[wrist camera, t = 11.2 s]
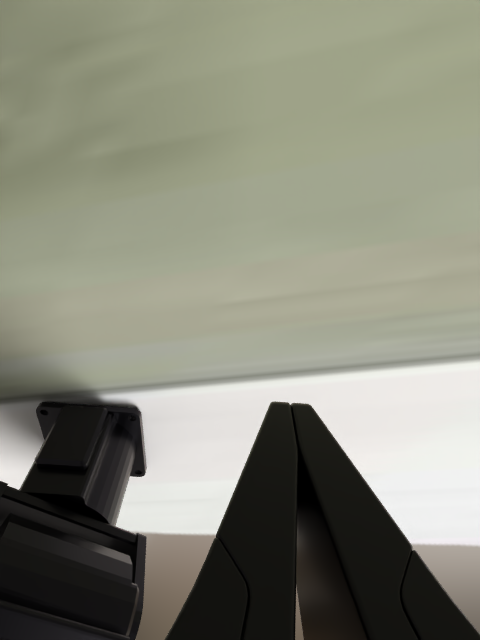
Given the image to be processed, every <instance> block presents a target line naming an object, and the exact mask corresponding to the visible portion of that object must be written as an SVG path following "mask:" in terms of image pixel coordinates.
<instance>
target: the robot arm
mask: <svg viewBox="0 0 480 640" xmlns="http://www.w3.org/2000/svg"><path fill="white" fill-rule="evenodd" d="M36 413H37V416H38V420H39V423H40V426H41V430H42V433H43V436H44V439H45V441H44V443H43V445H42V447H41V449H40V451H39V452H38V454H37V456H36V458H35V461H34V463H33V465H32V467H31V469H30V471H29V472H28V474H27V476H26V478H25V480H24V482H23V484H22V486H21V488H20V489H19V490H17V489H15V488H12V487H9V486H7V485H8V484H7V483H4V482H2V481H0V640H135V638H136V635H137V632H138V628H139V624H140V620H141V615H142V609H143V596H144V576H145V555H146V536H144V535H142V534H139V533H137V534H134V533H131V532H129V531H126V530H123V529H121V528H118V527H115V525H116V522H117V518H118V515H119V512H120V508H121V505H122V501H123V498H124V494H125V491H126V487H127V484H128V480H129V477H130V476H135V477H142V476H144V475H145V473H146V469H147V467H146V456H145V446H144V436H143V425H142V415H141V412H140V411H139V410H138V409H135V408H124V407H109V406H95V405H80V404H65V403H50V402H42V403H40V404H39V406H38V408H37V409H36ZM296 585H297V593H298V599H299V607H300V615H301V622H302V629H303V637H304V640H480V633H479V632H478V631H477V630H476V628H475V627H474V626H473V625H472V624H471V623H470V621H469V620H468V619H467V617H466V616H465V615H464V614H463V613H462V611H460V609H459V608H458V607H457V605H456V604H455V603H454V602H453V600H452V599H451V598H450V596H449V595H448V594H447V592H446V591H445V590H444V588H443V587H442V586H441V584H440V583H439V582H438V580H437V579H436V578H435V576H434V575H433V574H432V573H431V571H430V570H429V569H428V567H427V566H426V564H425V563H424V561H423V560H422V559H421V557H420V556H419V555H418V553H417V552H416V551H415V550H412V545H411V544H410V542H409V541H408V539H407V538H406V537H405V535H404V534H403V532H402V531H401V530H400V528H399V527H398V525H397V524H396V523H395V521H394V520H393V519H392V517H391V516H390V514H389V513H388V512H387V510H386V509H385V507H384V506H383V505H382V503H381V502H380V501H379V499H378V498H377V496H376V495H375V494H374V492H373V491H372V489H371V488H370V487H369V485H368V484H367V482H366V481H365V480H364V478H363V477H362V476H361V474H360V473H359V471H358V470H357V469H356V467H355V466H354V464H353V463H352V462H351V460H350V459H349V458H348V456H347V455H346V453H345V452H344V451H343V449H342V448H341V446H340V445H339V444H338V442H337V441H336V439H335V438H334V437H333V435H332V434H331V433H330V431H329V430H328V428H327V427H326V426H325V424H324V423H323V421H322V420H321V419H320V417H319V416H318V415H317V413H316V412H315V410H314V409H313V408H312V406H311V405H309V404H302V403H292V404H291V405H290V404H289V403H287V402H271V404H270V406H269V408H268V411H267V413H266V415H265V418H264V420H263V423H262V425H261V427H260V430H259V432H258V435H257V437H256V440H255V442H254V444H253V447H252V449H251V452H250V454H249V456H248V459H247V461H246V464H245V466H244V469H243V471H242V473H241V476H240V478H239V481H238V483H237V486H236V488H235V490H234V493H233V495H232V498H231V500H230V502H229V505H228V507H227V510H226V512H225V515H224V517H223V519H222V522H221V524H220V527H219V529H218V531H217V534H216V538H215V539H214V541H213V543H212V546H211V548H210V550H209V553H208V555H207V558H206V560H205V562H204V564H203V566H202V569H201V571H200V573H199V575H198V577H197V580H196V582H195V584H194V586H193V588H192V590H191V592H190V594H189V596H188V598H187V600H186V602H185V604H184V605H183V607H182V609H181V611H180V613H179V615H178V617H177V619H176V621H175V622H174V624H173V626H172V628H171V629H170V631H169V633H168V635H167V637H166V638H165V640H295V611H296V610H295V609H296Z"/></svg>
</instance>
